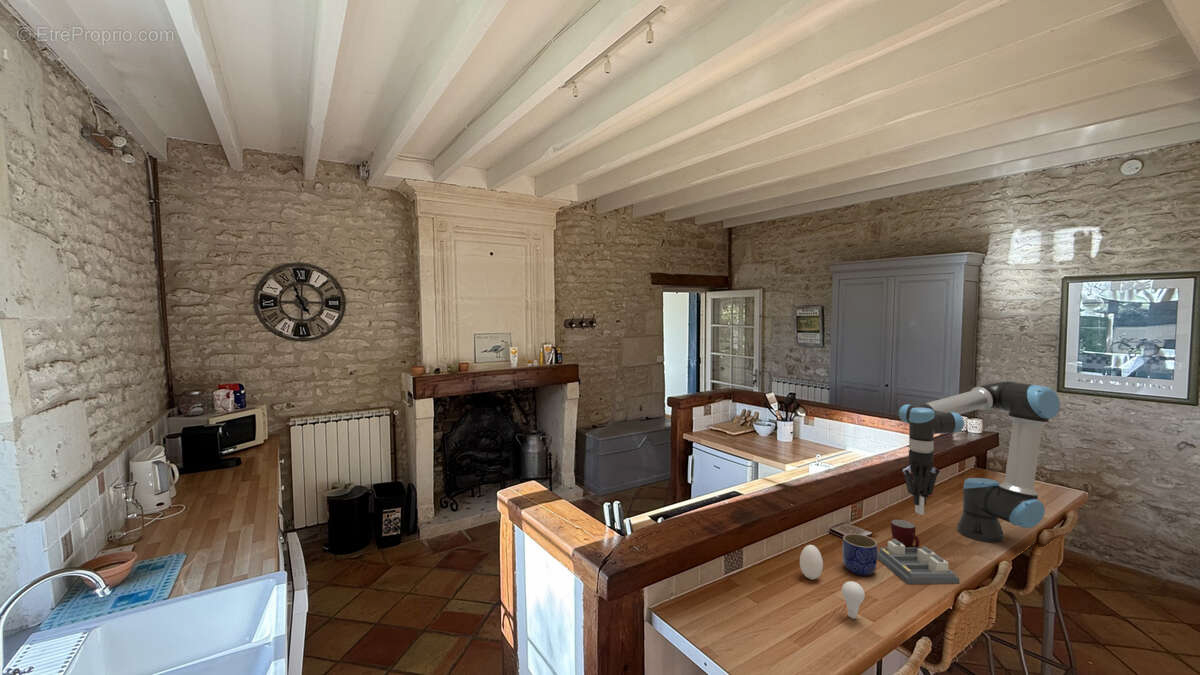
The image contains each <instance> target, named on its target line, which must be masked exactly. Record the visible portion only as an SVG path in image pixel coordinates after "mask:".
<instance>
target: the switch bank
mask: <svg viewBox="0 0 1200 675" xmlns="http://www.w3.org/2000/svg"><path fill="white" fill-rule="evenodd" d="M917 549H922V547H921V548H920V547H919V546H918V547H905V555H891V554H890V553H889V552H888V551H887V550H888V547H879V551H877V560H878V561H879V562H880V563H882V564H883V565H885V566H886V568H888V569H889V570H890V571H891V572H892V573H894V575H896V576H897V577H898V578H899V579H900V580H901V581H902V582H904V583H905V584H906V585H917V584H918V585H920V584H922V585H923V584H929V585H931V584H935V585H936V584H941V585H942V584H960V577H959V576H958V575H956V573H955V572H954V571H952V570H951V569H950V568H948V572H931V571H930V570H928V566H929V563H919V562H918V561H917Z"/></svg>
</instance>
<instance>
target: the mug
mask: <svg viewBox="0 0 1200 675" xmlns="http://www.w3.org/2000/svg"><path fill="white" fill-rule="evenodd" d="M916 531H917V530H916V524H915V523H913V522H911V521H908V520H903V519H893V520H891V522H890V532H891V536H892V539H896V540H897V541H899V542H900V543H902V544H903V545H904V546H905V547H919V546H920V538H919V537H918V536H917V535H916ZM914 541H915V542H914ZM914 543H915V545H914Z"/></svg>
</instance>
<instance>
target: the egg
mask: <svg viewBox="0 0 1200 675" xmlns="http://www.w3.org/2000/svg"><path fill="white" fill-rule="evenodd" d="M823 561H824V560H823V556H822V554H821V552H820V550H819V549H818V547H816V545H813V544H807V545H806V546H805V547H803V549H802V551H801V552H800V556H799V567H800V570H801V572H802V574H803V575H804V576H805V577H806V578H807V579H809V580H815V579H818V578H819V577H821V575H822V572H823V570H824V569H823V568H824V562H823Z"/></svg>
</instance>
